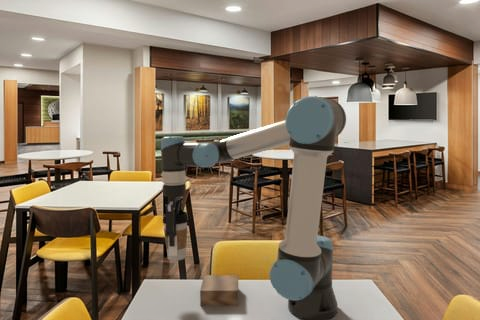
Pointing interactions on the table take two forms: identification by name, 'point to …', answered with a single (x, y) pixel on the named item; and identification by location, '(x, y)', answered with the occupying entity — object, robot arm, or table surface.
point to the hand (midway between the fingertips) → (176, 251)
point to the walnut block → (219, 290)
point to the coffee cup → (178, 236)
